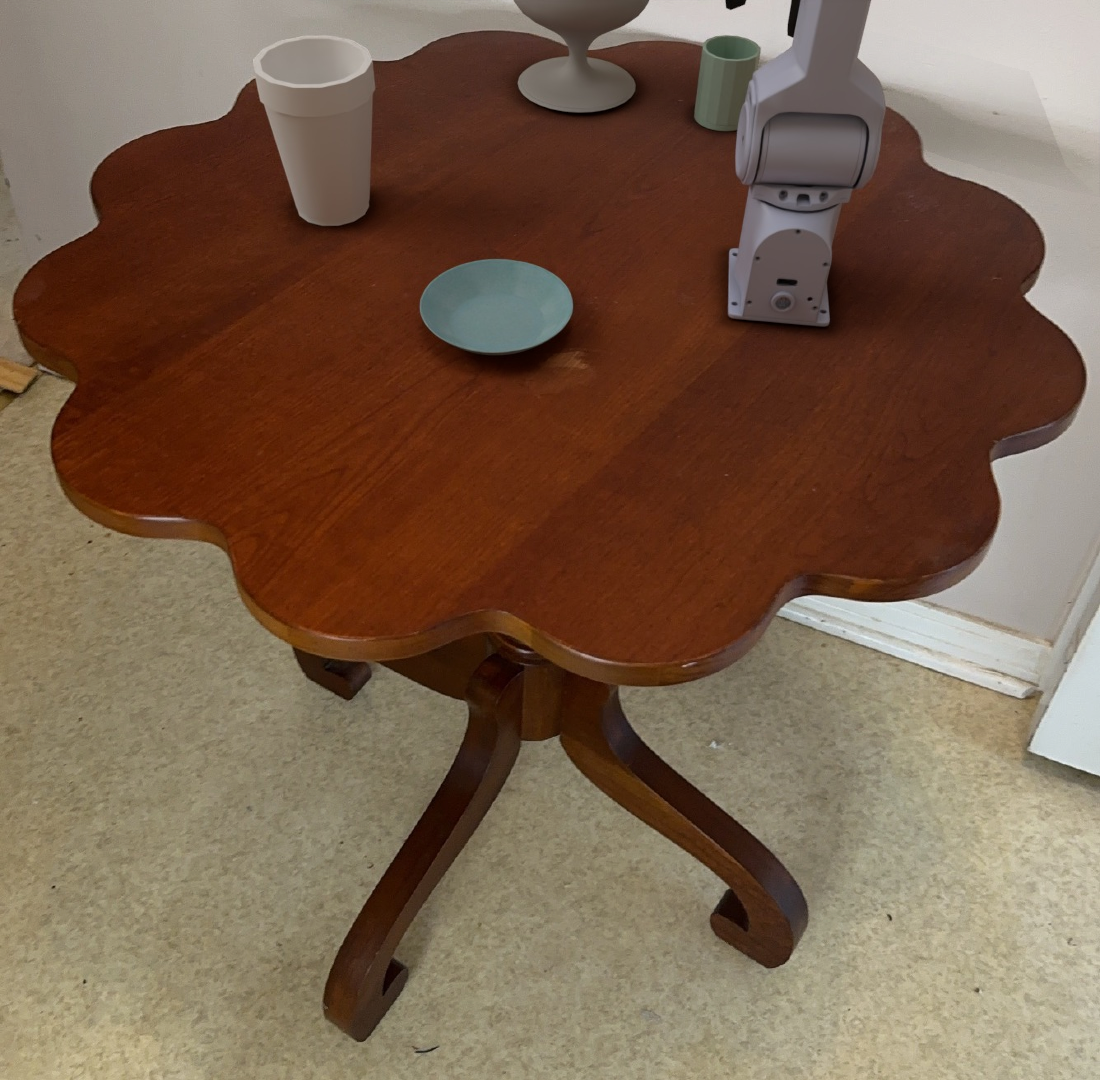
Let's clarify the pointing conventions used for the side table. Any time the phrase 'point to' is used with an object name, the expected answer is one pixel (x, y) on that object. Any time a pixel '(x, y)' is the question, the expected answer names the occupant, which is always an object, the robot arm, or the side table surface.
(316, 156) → the foam cup
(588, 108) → the chalice
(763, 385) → the side table surface
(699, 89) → the glass
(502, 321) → the saucer
